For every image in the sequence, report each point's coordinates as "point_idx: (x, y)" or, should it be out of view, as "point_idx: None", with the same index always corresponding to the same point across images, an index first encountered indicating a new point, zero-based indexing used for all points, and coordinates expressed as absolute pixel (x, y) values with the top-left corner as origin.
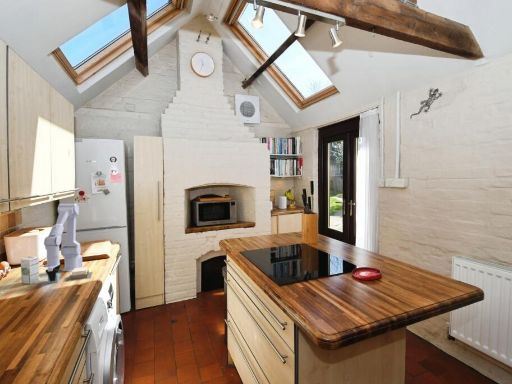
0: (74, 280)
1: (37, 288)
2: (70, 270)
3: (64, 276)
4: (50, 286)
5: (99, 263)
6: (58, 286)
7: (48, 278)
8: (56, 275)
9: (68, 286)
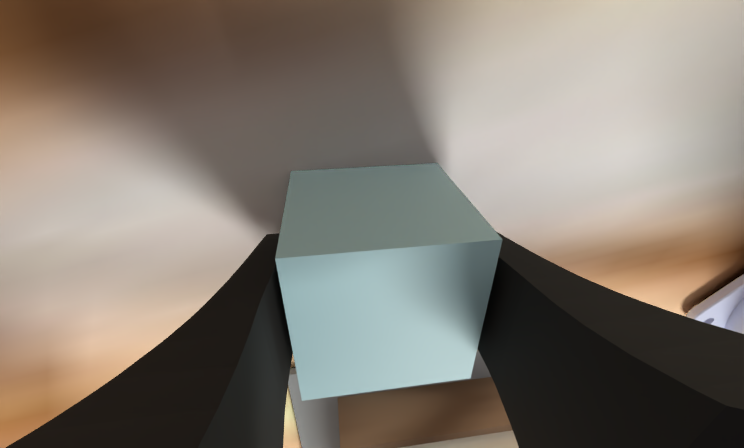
0: (298, 426)
1: (31, 34)
2: (722, 311)
3: None
4: (138, 244)
5: None
6: (124, 339)
7: (284, 235)
8: (301, 388)
9: None
